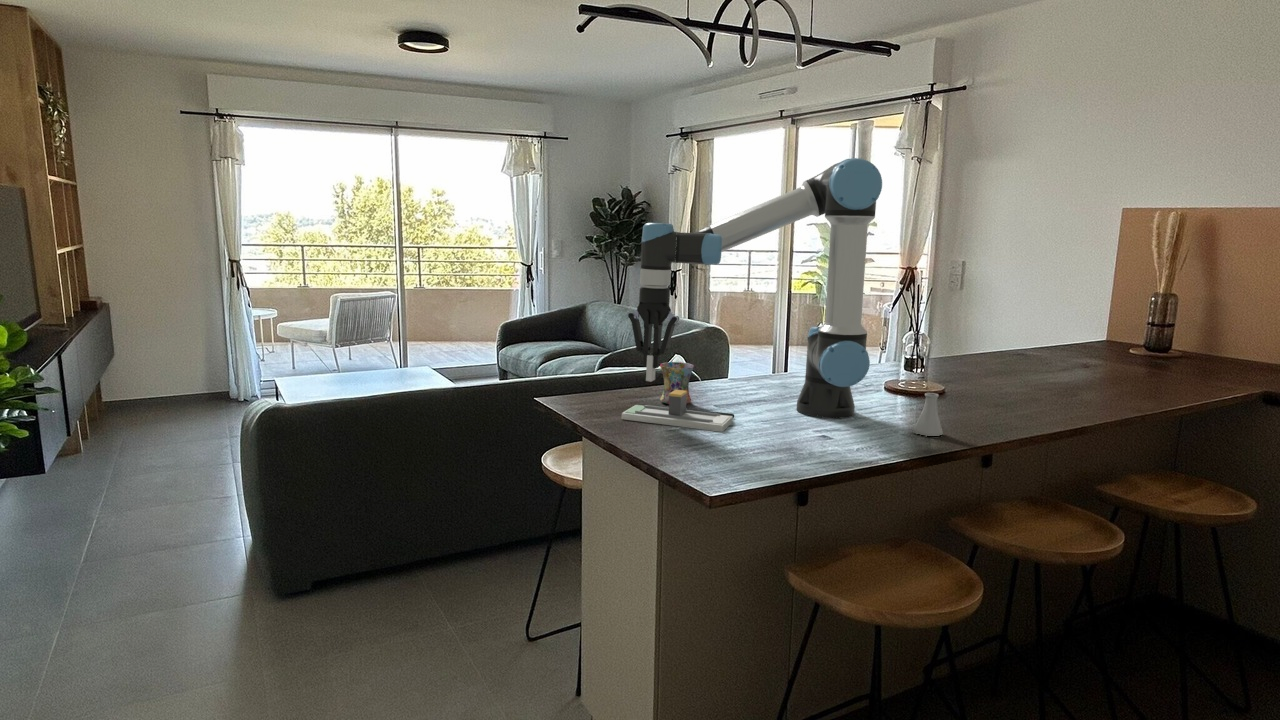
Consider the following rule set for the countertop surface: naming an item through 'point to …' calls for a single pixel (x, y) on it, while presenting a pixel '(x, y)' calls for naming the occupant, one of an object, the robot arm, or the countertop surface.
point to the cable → (713, 412)
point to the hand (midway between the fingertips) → (650, 380)
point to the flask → (929, 418)
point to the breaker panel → (678, 418)
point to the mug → (676, 378)
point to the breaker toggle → (677, 402)
